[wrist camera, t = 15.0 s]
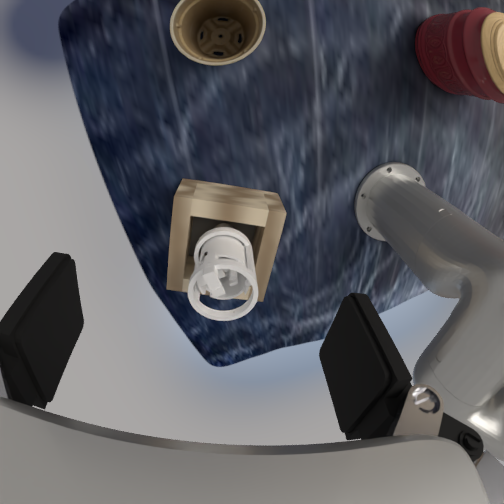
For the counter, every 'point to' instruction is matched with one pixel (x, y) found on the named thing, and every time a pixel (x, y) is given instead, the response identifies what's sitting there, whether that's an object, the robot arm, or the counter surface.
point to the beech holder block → (217, 212)
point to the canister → (464, 52)
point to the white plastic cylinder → (223, 271)
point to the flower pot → (217, 29)
